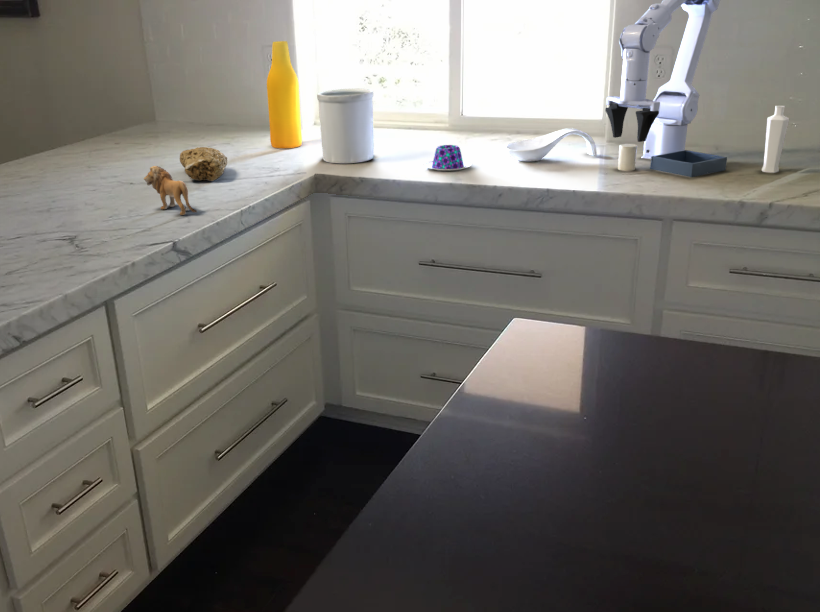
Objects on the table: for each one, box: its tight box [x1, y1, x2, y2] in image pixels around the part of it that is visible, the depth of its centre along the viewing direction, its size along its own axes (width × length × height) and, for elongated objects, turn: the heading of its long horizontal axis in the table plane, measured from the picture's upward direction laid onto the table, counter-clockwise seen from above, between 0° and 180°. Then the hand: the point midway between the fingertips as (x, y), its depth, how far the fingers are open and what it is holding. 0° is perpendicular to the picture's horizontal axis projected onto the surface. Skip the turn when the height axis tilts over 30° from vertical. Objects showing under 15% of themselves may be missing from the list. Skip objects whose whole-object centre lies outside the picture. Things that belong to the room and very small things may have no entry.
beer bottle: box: [266, 40, 303, 150], centre depth 249 cm, size 9×9×29 cm
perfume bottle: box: [761, 105, 790, 174], centre depth 199 cm, size 5×4×15 cm
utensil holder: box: [316, 88, 375, 164], centre depth 230 cm, size 15×15×18 cm
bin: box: [649, 149, 728, 178], centre depth 205 cm, size 12×12×3 cm
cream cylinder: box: [617, 143, 638, 172], centre depth 208 cm, size 4×4×6 cm
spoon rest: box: [504, 127, 598, 163], centre depth 224 cm, size 24×12×7 cm, turn 98°
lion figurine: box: [143, 165, 198, 216], centre depth 186 cm, size 15×5×9 cm, turn 50°
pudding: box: [423, 144, 473, 172], centre depth 218 cm, size 12×12×5 cm
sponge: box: [179, 146, 228, 182], centre depth 220 cm, size 13×8×20 cm
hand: (629, 139), depth 206 cm, fingers open, 7 cm apart
